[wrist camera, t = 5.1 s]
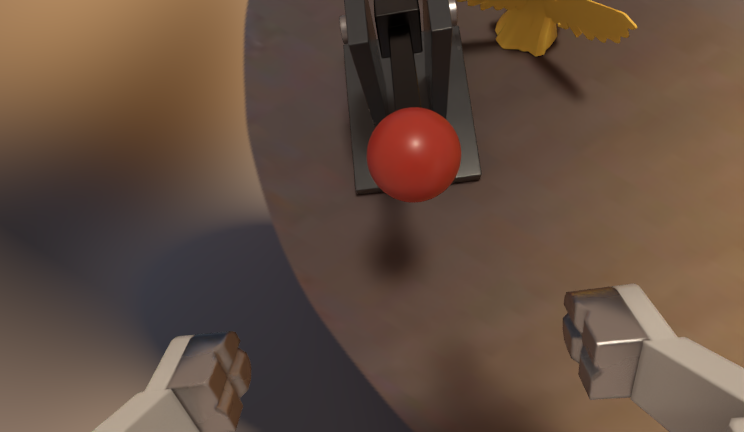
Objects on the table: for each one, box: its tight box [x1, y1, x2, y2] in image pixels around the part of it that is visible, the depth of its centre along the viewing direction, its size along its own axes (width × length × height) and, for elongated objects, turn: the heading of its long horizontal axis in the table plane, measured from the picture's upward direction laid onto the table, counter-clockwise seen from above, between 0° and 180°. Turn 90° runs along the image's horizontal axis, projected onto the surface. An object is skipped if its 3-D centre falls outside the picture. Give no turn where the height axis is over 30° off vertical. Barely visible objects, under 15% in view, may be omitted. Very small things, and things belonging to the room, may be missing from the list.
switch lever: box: [367, 0, 461, 202], centre depth 20 cm, size 13×4×4 cm, turn 5°
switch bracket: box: [339, 0, 481, 195], centre depth 27 cm, size 12×9×13 cm
